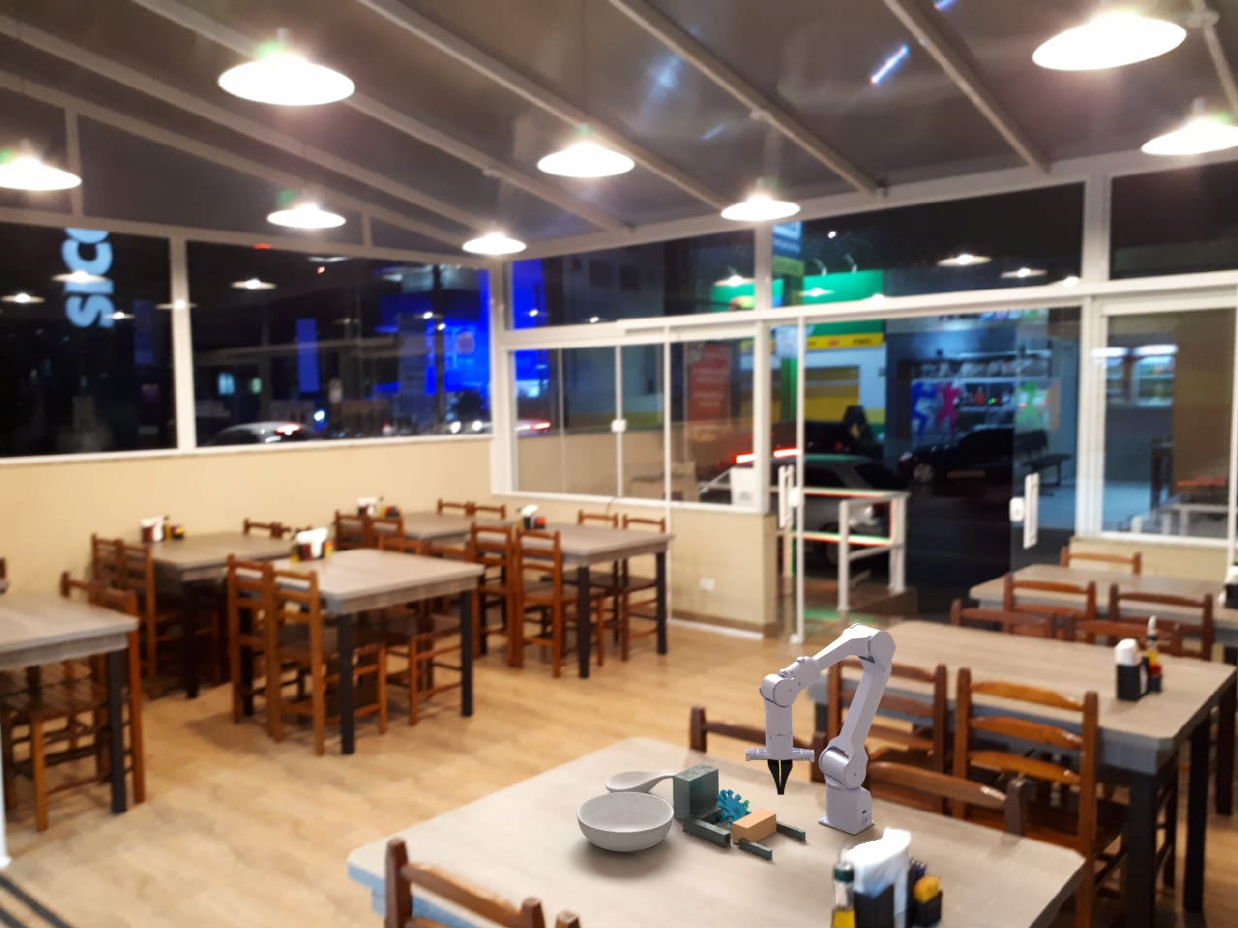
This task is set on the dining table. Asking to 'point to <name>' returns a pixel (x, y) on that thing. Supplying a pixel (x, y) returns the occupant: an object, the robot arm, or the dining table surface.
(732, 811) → the gear
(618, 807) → the serving bowl
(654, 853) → the dining table surface
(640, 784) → the spoon rest
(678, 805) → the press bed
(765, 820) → the press ram
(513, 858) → the dining table surface
